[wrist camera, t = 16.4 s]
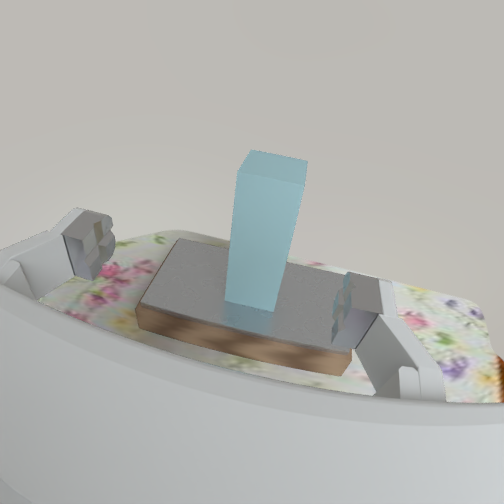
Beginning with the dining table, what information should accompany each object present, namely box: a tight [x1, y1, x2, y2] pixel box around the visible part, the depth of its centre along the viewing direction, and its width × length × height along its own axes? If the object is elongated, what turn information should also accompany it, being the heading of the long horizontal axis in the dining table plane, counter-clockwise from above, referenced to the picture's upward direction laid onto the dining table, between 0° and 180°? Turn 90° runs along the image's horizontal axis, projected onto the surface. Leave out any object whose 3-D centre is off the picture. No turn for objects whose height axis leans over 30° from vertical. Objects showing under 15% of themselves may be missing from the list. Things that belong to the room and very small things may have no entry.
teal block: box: [225, 150, 308, 312], centre depth 29 cm, size 5×5×14 cm
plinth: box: [135, 238, 352, 376], centre depth 35 cm, size 22×12×4 cm, turn 79°
